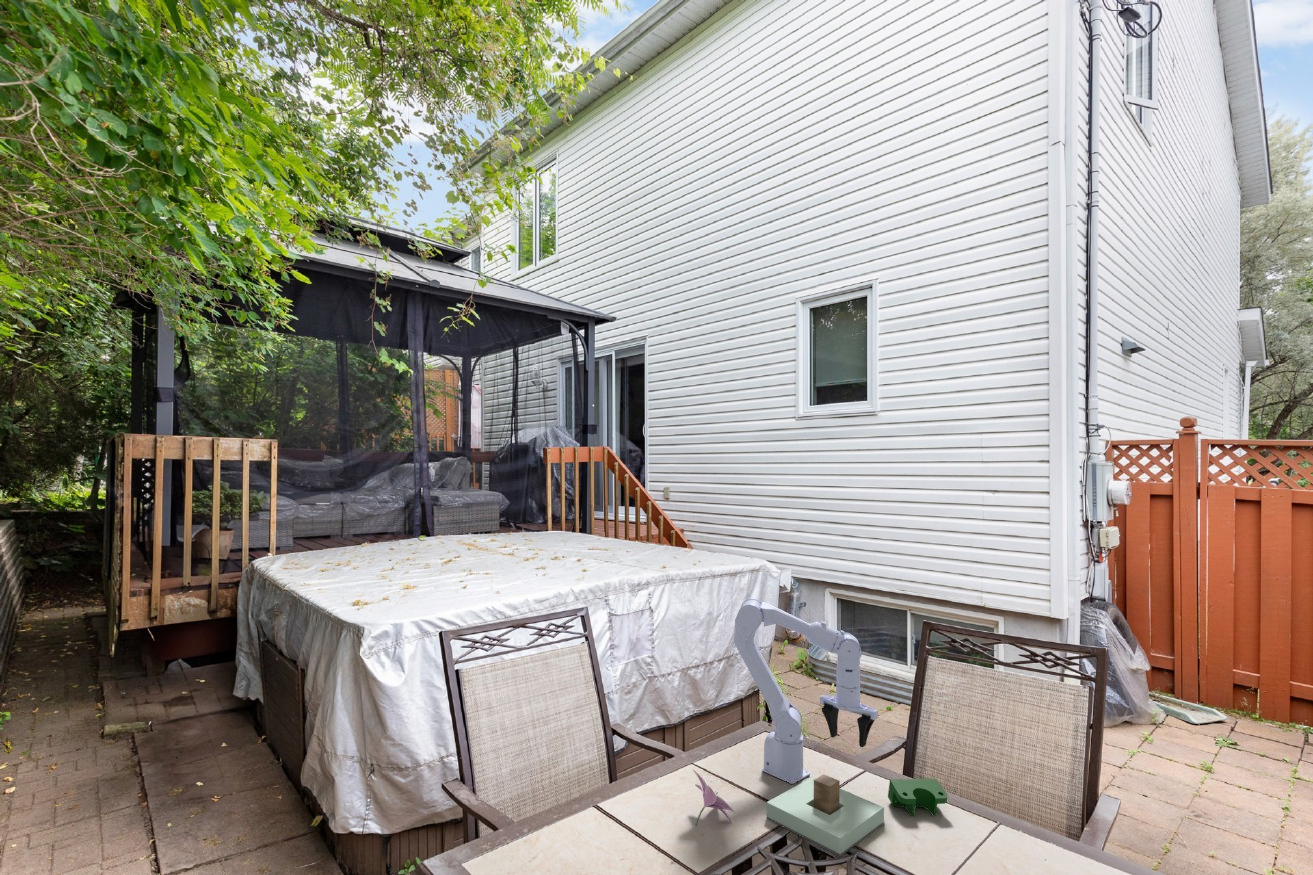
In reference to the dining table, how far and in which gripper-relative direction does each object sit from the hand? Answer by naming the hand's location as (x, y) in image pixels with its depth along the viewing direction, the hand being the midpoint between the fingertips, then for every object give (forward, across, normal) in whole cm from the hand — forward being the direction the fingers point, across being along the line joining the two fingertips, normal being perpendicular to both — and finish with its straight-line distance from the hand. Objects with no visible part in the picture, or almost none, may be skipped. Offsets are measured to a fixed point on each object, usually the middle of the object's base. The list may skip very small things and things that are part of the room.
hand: (848, 741), depth 154 cm
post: (+9, +5, -20) cm, 22 cm away
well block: (+10, +5, -20) cm, 23 cm away
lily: (+10, -13, -38) cm, 41 cm away
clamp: (+10, +17, -1) cm, 20 cm away
